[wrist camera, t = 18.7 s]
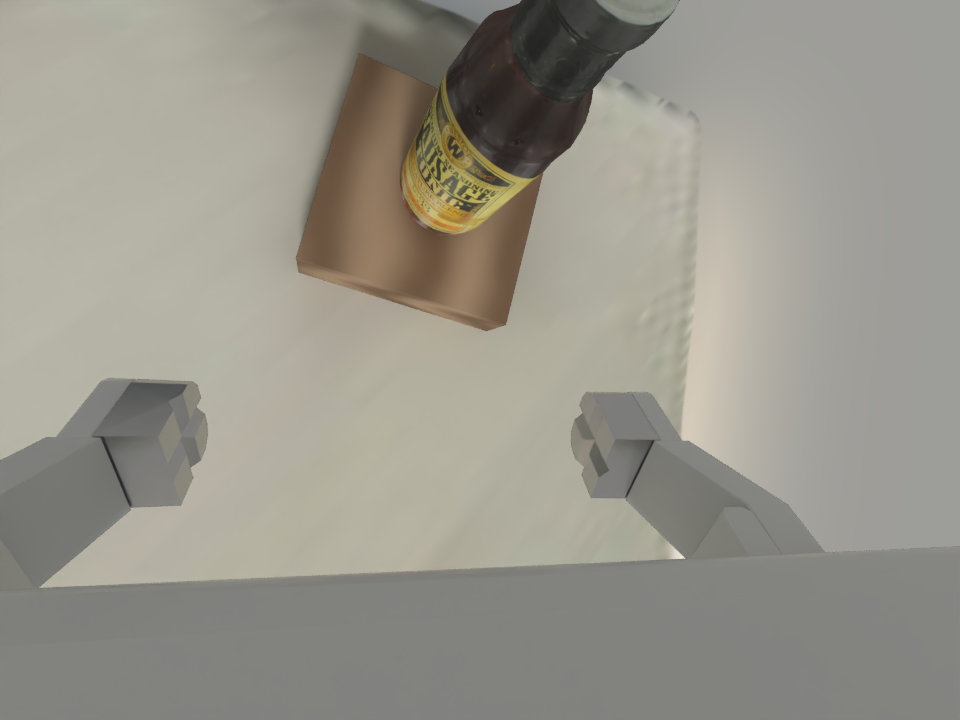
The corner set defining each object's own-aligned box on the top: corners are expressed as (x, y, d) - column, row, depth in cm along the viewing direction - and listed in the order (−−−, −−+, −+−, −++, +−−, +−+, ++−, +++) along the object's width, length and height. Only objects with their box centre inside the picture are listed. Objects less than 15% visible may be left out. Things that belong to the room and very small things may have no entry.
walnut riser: (298, 272, 33) (296, 257, 29) (354, 89, 35) (359, 53, 31) (486, 331, 37) (505, 324, 33) (528, 164, 39) (550, 140, 35)
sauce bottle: (376, 179, 31) (466, -141, 12) (451, 132, 33) (630, -211, 14) (438, 263, 32) (610, 88, 13) (507, 213, 34) (746, -4, 15)
